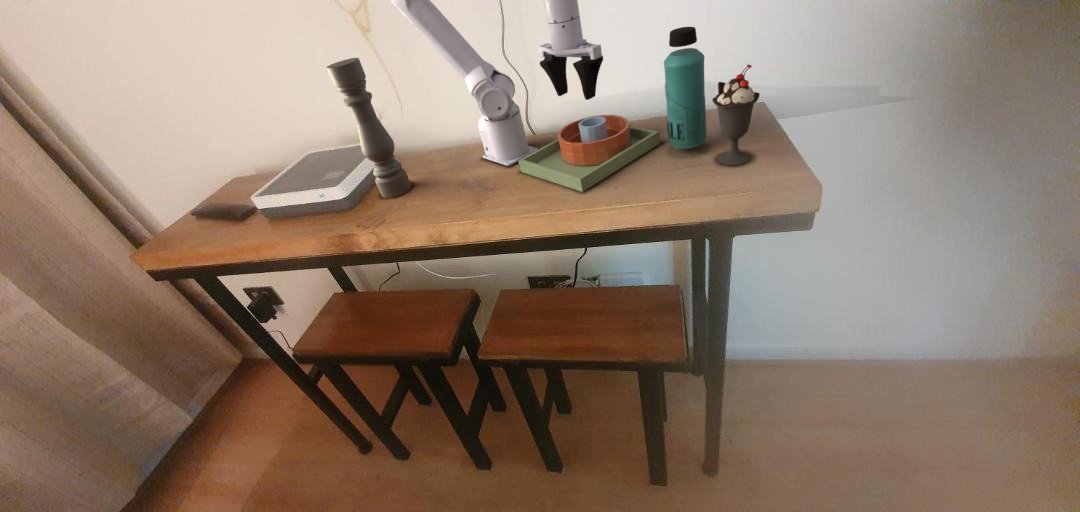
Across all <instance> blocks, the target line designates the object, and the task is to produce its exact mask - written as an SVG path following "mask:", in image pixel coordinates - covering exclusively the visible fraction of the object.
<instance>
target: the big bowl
mask: <svg viewBox="0 0 1080 512" xmlns="http://www.w3.org/2000/svg"><path fill="white" fill-rule="evenodd" d="M591 117H604V118H605V119H606V122H607V130H608V137H609V138H606V139H603V140H598V141H594V142H585V143H582V142H581V136H580V130H579V123H580V122H581V121H582V120H584V119H587V118H591ZM630 127H631V123H630V121H629V119H628V118H626V117H624V116H621V115H617V114H600V115H598V114H597V115H591V116H588V117H583V118H580V119H577V120H574V121H572V122H570V123H568V124H566V125H564V126H563V127H562V128H561V129H560V130H559V131H558V133H557V139H558V141H559V145H560V151H561V156H562V159H563V160H564V161H565V162H567V163H569V164H573V165H580V166H589V165H598V164H602V163H604V162H606V161H607V160H609V159H611V158H612V157H614V156H615V155H617V154H619V153H620V152H622V151H624V150H625V149H627V148H629V147H630V146H632V140H631V131H630Z"/></svg>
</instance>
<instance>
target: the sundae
mask: <svg viewBox="0 0 1080 512" xmlns="http://www.w3.org/2000/svg"><path fill="white" fill-rule="evenodd" d="M752 66H753V65H751V64H747V65H746V67H744V69H742V72H741V73H739V74H737V75H736V76H735V78H734V77H733V78H731V79H730V80H728V81H727V82H723V81H719V82H717V90H718V91H717V93H718V94H716V95H715V97H713V98H711V100H712V103H713V104H714V105H715V106H716V108H717V114H718V120H719V127H720V131H721V134H722V135H723V136H724V137H726V138H727V139H729V140H730V148H729V151H727V152H724V153H721V154H720V155H719V156H718V157H717V162H718V163H720V164H721V165H725V166H740V165H741V166H742V165H745V164H746V163H748V162H750V160H751V159H752V158H751V154H749V153H748V152H746V151H742V150H741V151H740V150H739V149H740V148H739V140H740V139H741V138H742V137H744V136H745V135H746V134H747V133H748V131H749V128H750V124H751V119H752V115H753V109H754V106H755V105H754V104H756V103H757V102H758V101H759V99H760V95H761V93H760V92H756V91H754V90H753V89H752V87H750V86H749V85H750V84H749V83H750V82H749V80H747V79H745V75H746V73H747V71H748V70H750V69H751V68H752Z"/></svg>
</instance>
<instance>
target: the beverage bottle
mask: <svg viewBox="0 0 1080 512" xmlns="http://www.w3.org/2000/svg"><path fill="white" fill-rule="evenodd" d="M697 42H698V36H697V30H696V27H695V26H683V27H677V28H675V29H672V30H670V31H669V39H668V46H669V47H672V48H680V49H676V50H674V51H671V52H669V54H668V55H667V56H666V58H665V59H664V61H663V67H664V91H665V92H664V94H665V95H664V97H665V100H666V116H667V117H666V118H667V120H666V121H667V122H666V123H667V124H666V128H667V129H666V130H667V139H668V142H669V145H670V146H671V147H672V148H675V149H681V150H687V149H688V150H689V149H694V148H697V147H700V146H701V145H704V143H705V142H706V139H707V133H708V132H707V131H708V128H707V126H708V125H707V124H708V123H707V117H706V116H707V107H706V94H705V90H706V89H705V59H706V57H705V55H704V54H703V52H701V51H700V49H698V48H695V47H688V46H692V45H693V44H695V43H697ZM682 47H685V48H682Z"/></svg>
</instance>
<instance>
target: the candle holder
mask: <svg viewBox="0 0 1080 512" xmlns="http://www.w3.org/2000/svg"><path fill="white" fill-rule="evenodd" d="M326 70H327V73H328V75H329V77H330V80H331V82H332V84H333V86H334V87H335V88H337V91H338V92H340V93H341V94H342V96H344V99H343V102H342V103H343V105H344V106H346V107H347V108H348V109H350V111H351V114H352V117H353V118H354V121H355V124H356V127H357V132H358V138H359V142H360V148H361V152H362V155H363V156H364V157H365V158H366V159H368V160H369V161H370V162H371V164H372V165H374V166H373V172H372V173H373V176H374V177H375V179H374V182H375V184H376V187H377V188H378V192H379V193H380V195H381V197H382V198H386V199H391V198H395V197H399V196H401V195H404V194H406V193H407V192H408V191H410V189H411V187H412V184H411V181H410V178H409V176H408V174H407V171H406V169H404V168H403V165H402V162H400V161H398V160H397V159H396V158H395V154H394V153H395V142H394V140H393V138H392V137H391V135H390V133H389V132H388V131H387V129H386V128H385V126H384V125H383V123H382V122H381V121H380V119H379V118H378V116H377V113H376V111H375V109H374V106H373V104H372V98H373V94H372V92H370V91H368V90H367V86H366V85H367V80H366V77H367V75H366V72H365V70H364V68H363V65H362V62H361V61H360V58H359V57H352V58H347V59H342V60H339V61H336V62H333V63H331V64H329V65H327V66H326Z"/></svg>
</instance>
